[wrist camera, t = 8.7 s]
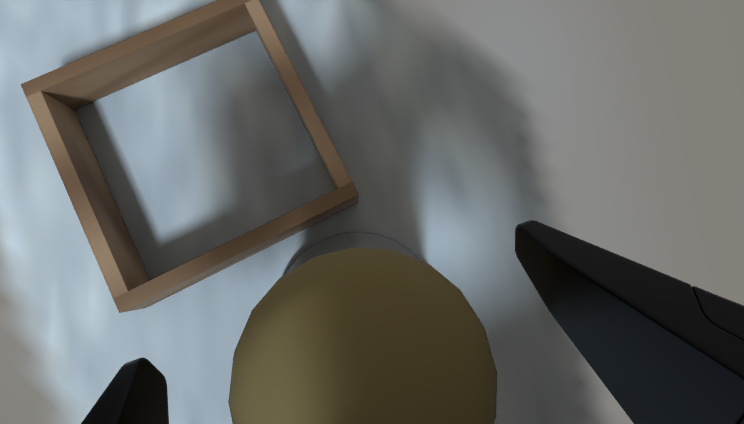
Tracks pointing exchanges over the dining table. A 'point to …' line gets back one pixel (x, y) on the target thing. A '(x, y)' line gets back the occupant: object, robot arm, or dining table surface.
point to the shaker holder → (130, 65)
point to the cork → (363, 347)
